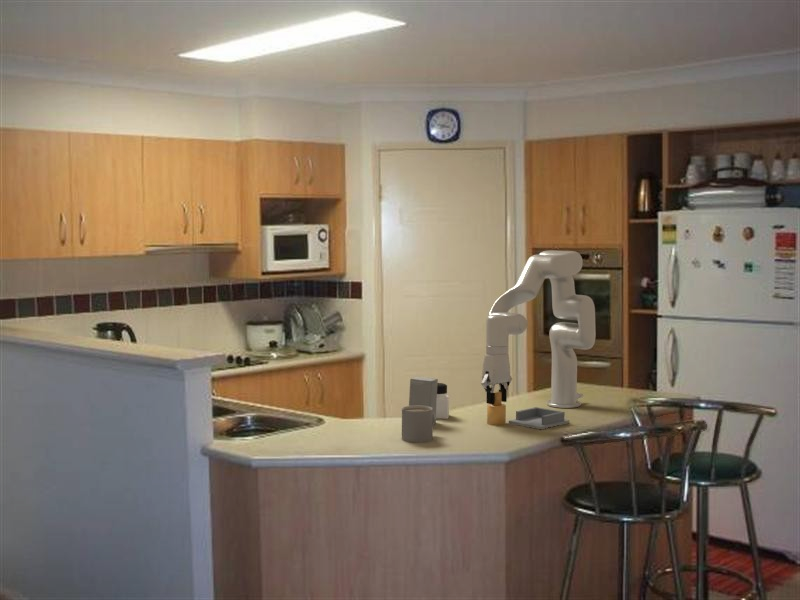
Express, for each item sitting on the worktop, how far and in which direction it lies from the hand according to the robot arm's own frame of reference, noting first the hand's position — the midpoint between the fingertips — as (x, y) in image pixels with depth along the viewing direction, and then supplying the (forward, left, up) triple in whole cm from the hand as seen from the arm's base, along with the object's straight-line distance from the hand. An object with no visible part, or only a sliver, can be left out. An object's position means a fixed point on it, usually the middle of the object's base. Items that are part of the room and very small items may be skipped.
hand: (496, 402), depth 346 cm
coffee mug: (+35, -2, -8) cm, 36 cm away
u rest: (-11, +10, -8) cm, 17 cm away
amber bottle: (0, 0, -8) cm, 8 cm away
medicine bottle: (+6, -22, -8) cm, 24 cm away
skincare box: (+18, -18, -8) cm, 27 cm away
